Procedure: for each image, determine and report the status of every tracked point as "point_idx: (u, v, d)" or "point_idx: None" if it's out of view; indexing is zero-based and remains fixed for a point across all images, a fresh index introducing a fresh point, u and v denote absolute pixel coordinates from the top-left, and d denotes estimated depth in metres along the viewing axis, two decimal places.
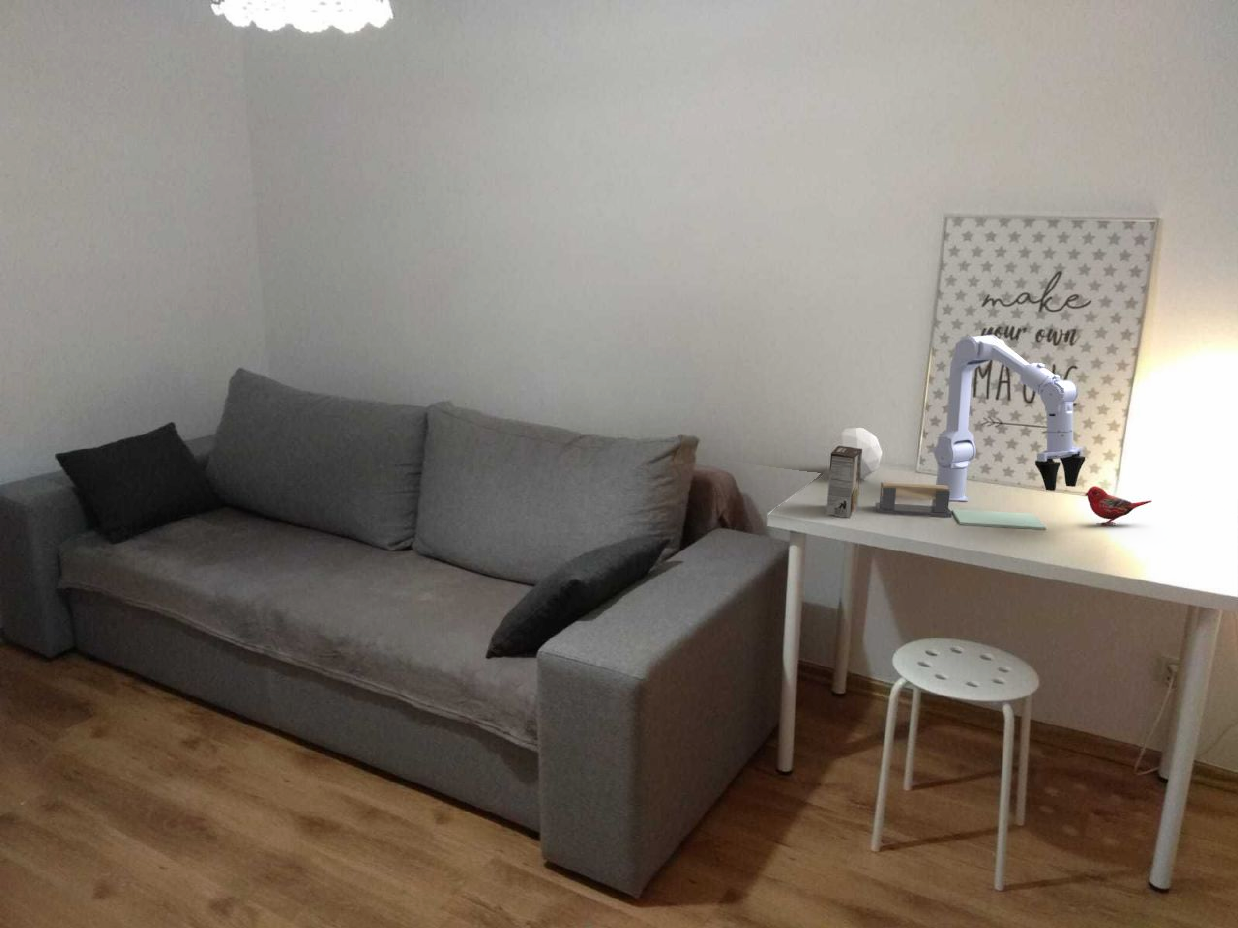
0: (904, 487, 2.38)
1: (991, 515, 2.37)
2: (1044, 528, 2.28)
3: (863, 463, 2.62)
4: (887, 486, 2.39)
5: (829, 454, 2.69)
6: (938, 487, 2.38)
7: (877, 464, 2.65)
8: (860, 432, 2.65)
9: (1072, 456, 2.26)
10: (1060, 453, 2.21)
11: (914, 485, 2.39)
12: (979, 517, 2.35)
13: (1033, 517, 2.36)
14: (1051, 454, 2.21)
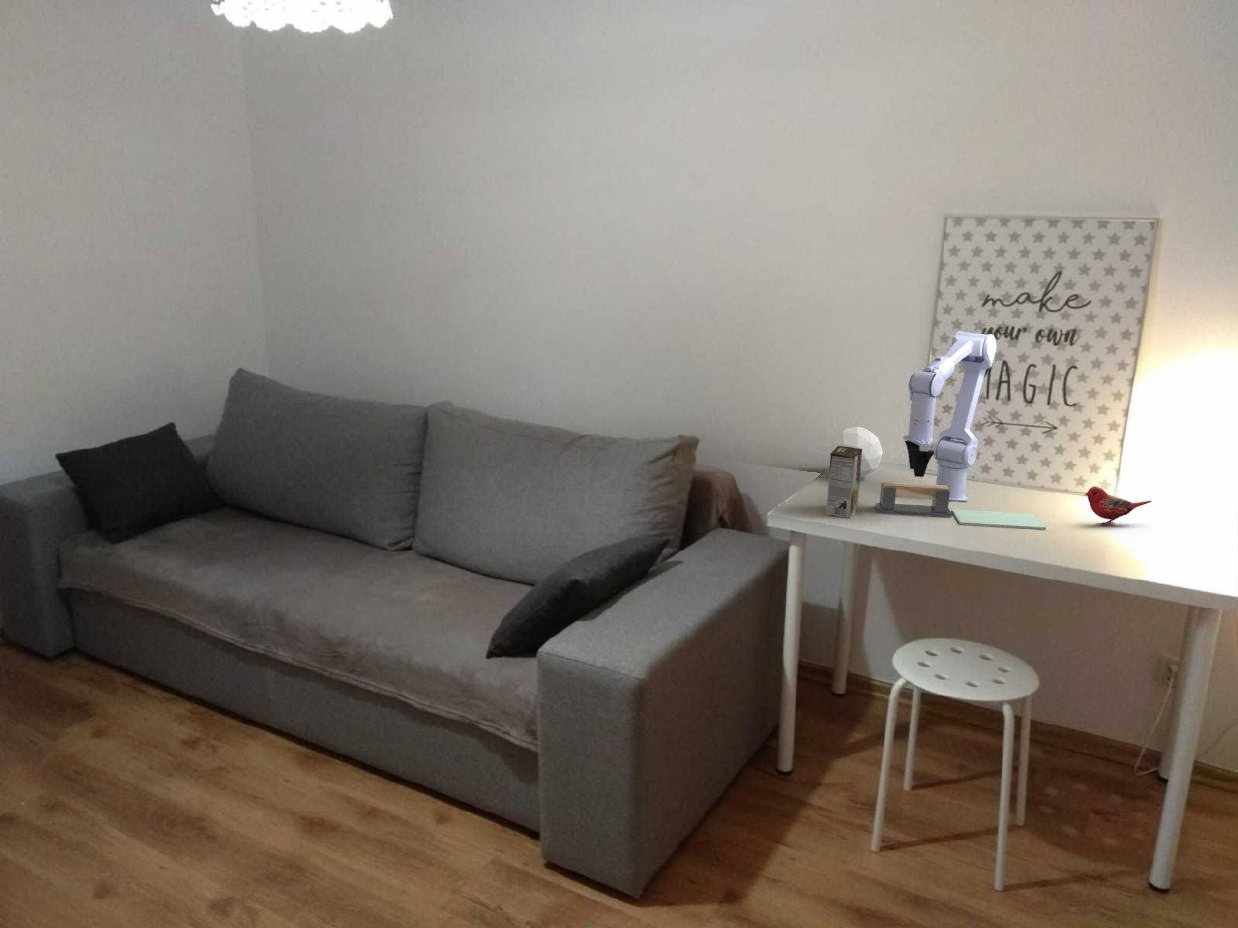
0: (904, 487, 2.38)
1: (991, 515, 2.37)
2: (1044, 528, 2.28)
3: (863, 459, 2.63)
4: (887, 486, 2.39)
5: (830, 452, 2.70)
6: (938, 487, 2.38)
7: (877, 462, 2.66)
8: (861, 430, 2.66)
9: None
10: None
11: (914, 485, 2.39)
12: (979, 517, 2.35)
13: (1033, 517, 2.36)
14: None
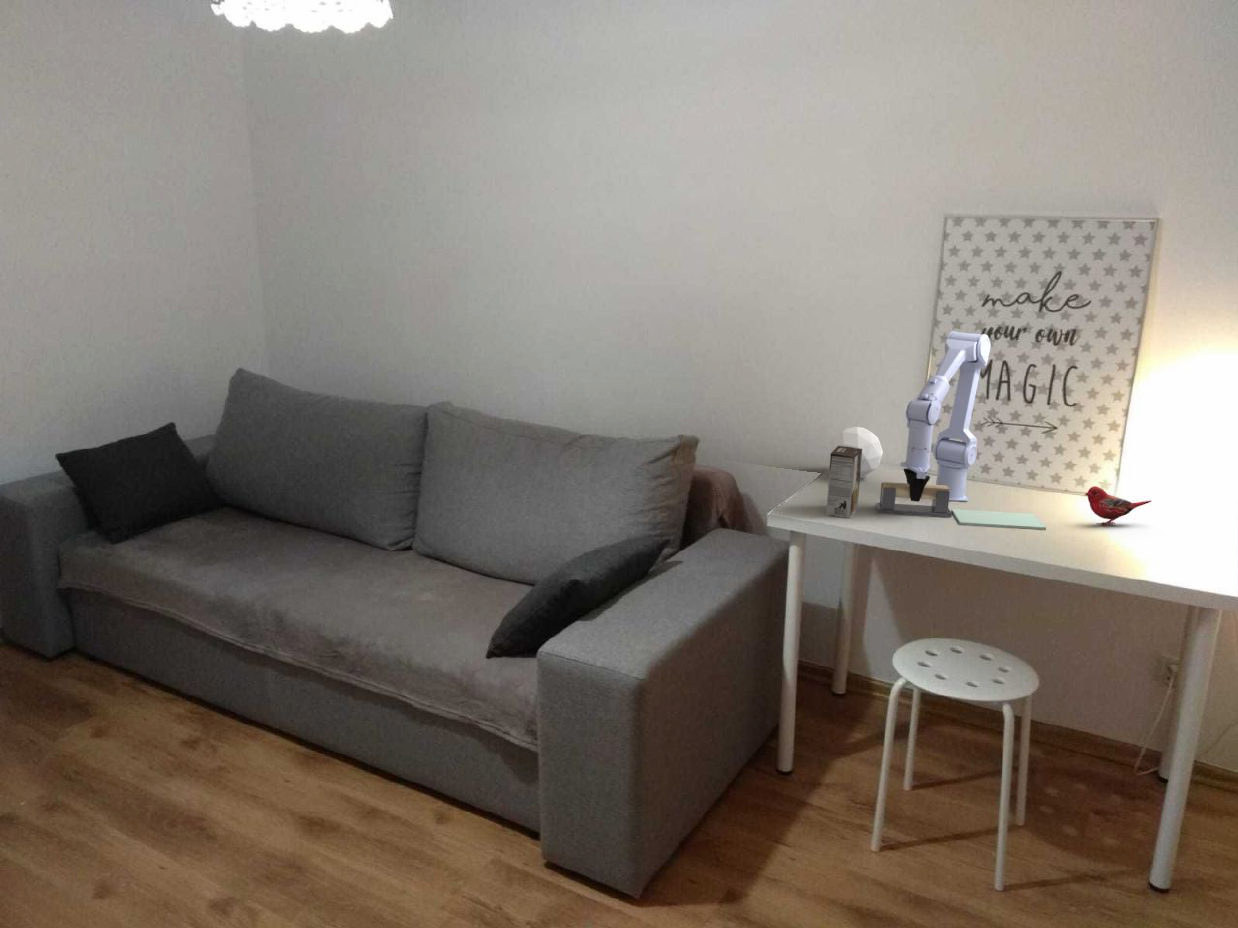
0: (904, 487, 2.38)
1: (991, 515, 2.37)
2: (1044, 528, 2.28)
3: (863, 459, 2.63)
4: (887, 486, 2.39)
5: (830, 452, 2.70)
6: (938, 487, 2.38)
7: (877, 462, 2.66)
8: (861, 430, 2.66)
9: None
10: None
11: None
12: (979, 517, 2.35)
13: (1033, 517, 2.36)
14: None
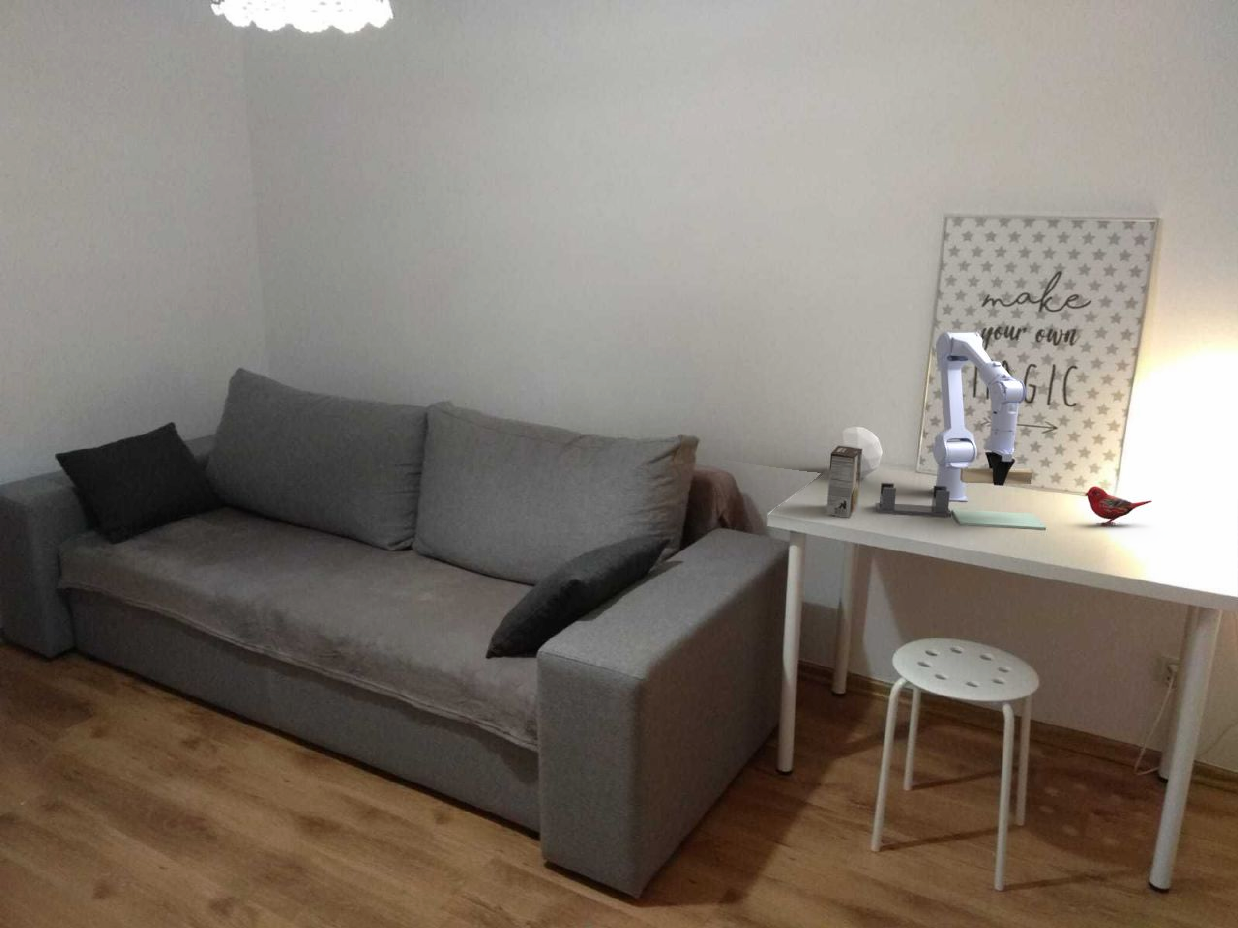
0: (985, 472, 2.31)
1: (991, 515, 2.37)
2: (1044, 528, 2.28)
3: (863, 459, 2.63)
4: (967, 472, 2.32)
5: (830, 452, 2.70)
6: (1020, 471, 2.31)
7: (877, 462, 2.66)
8: (861, 430, 2.66)
9: None
10: None
11: None
12: (979, 517, 2.35)
13: (1033, 517, 2.36)
14: None
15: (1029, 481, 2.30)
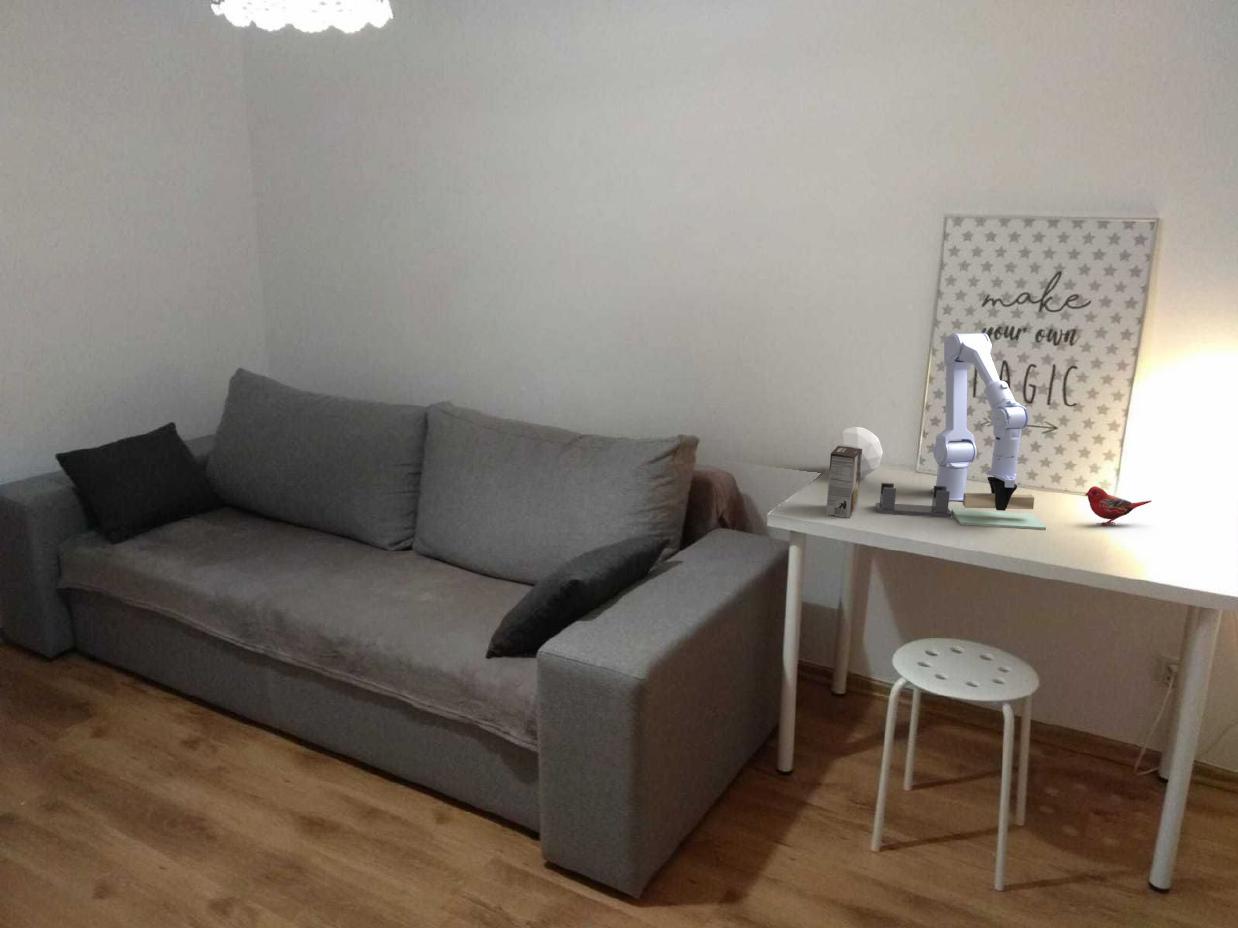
0: (987, 497, 2.33)
1: (991, 515, 2.37)
2: (1044, 528, 2.28)
3: (863, 459, 2.63)
4: (970, 497, 2.33)
5: (830, 452, 2.70)
6: (1022, 496, 2.32)
7: (877, 462, 2.66)
8: (861, 430, 2.66)
9: None
10: None
11: None
12: (979, 517, 2.35)
13: (1033, 517, 2.36)
14: None
15: (1031, 506, 2.32)
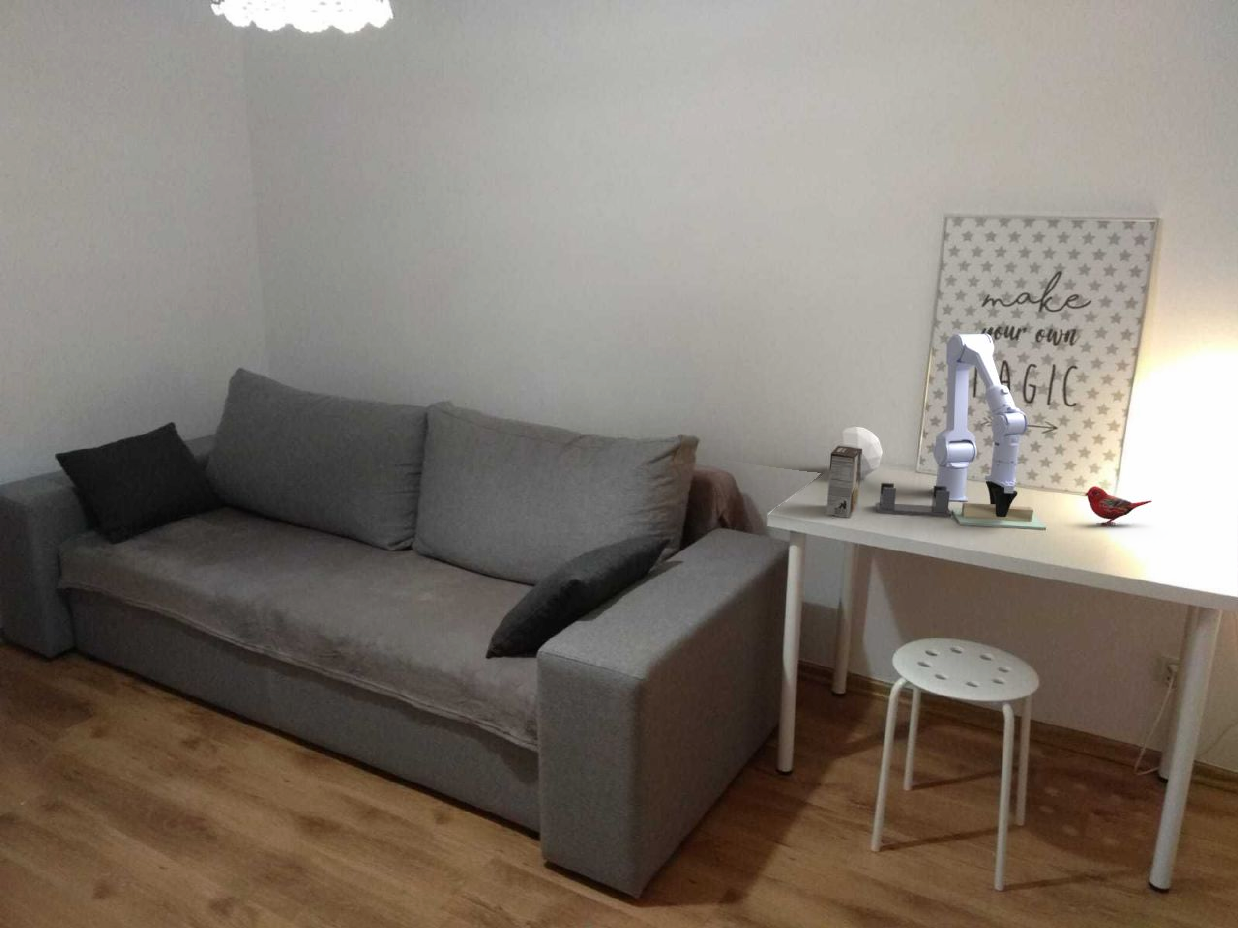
0: (986, 508, 2.33)
1: None
2: (1044, 528, 2.28)
3: (863, 459, 2.63)
4: (969, 507, 2.34)
5: (830, 452, 2.70)
6: (1021, 508, 2.33)
7: (877, 462, 2.66)
8: (861, 430, 2.66)
9: None
10: None
11: None
12: None
13: (1033, 517, 2.36)
14: None
15: (1030, 518, 2.32)
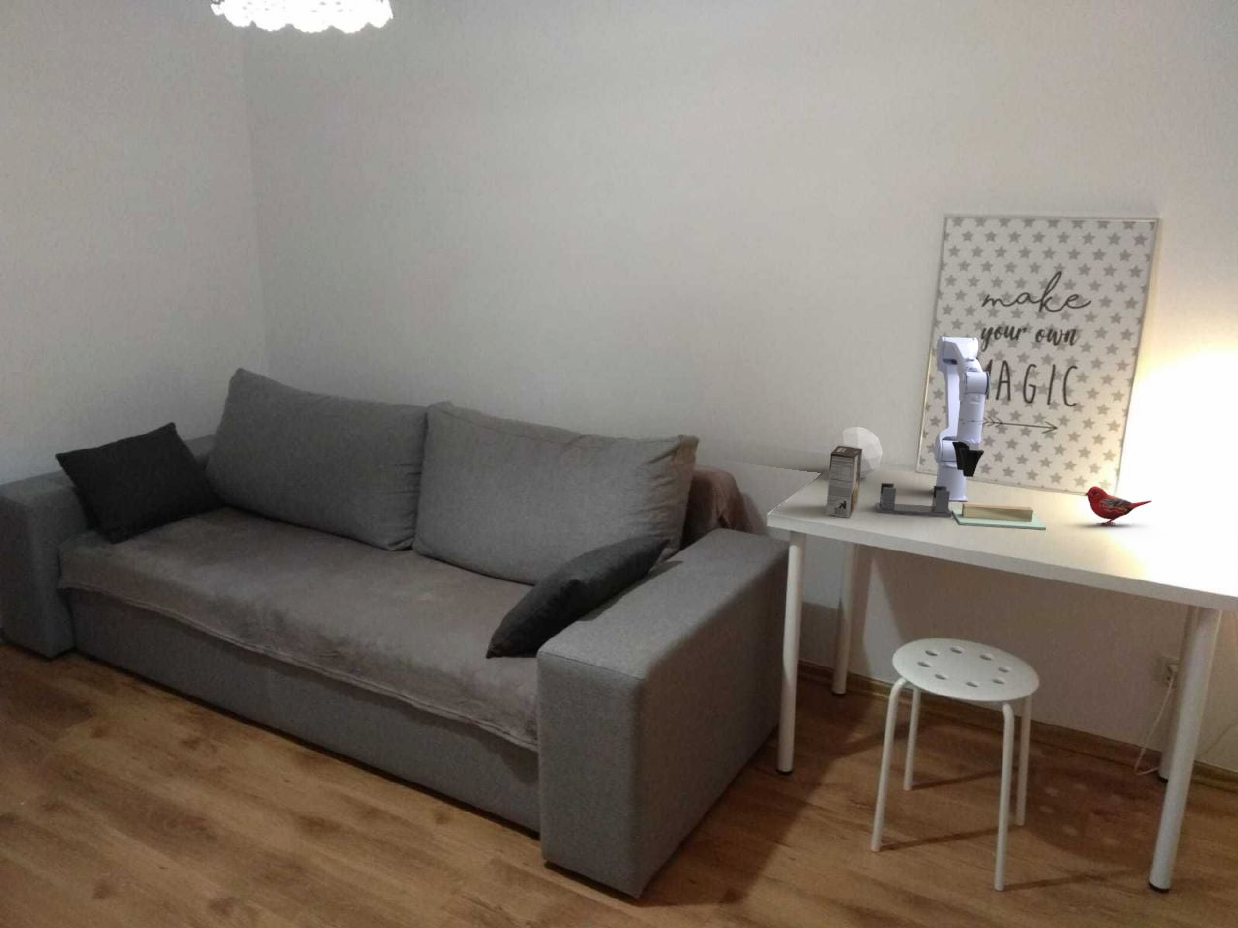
0: (986, 508, 2.33)
1: None
2: (1044, 528, 2.28)
3: (863, 459, 2.63)
4: (969, 507, 2.34)
5: (830, 452, 2.70)
6: (1021, 508, 2.33)
7: (877, 462, 2.66)
8: (861, 430, 2.66)
9: None
10: None
11: (996, 506, 2.34)
12: None
13: (1033, 517, 2.36)
14: None
15: (1030, 518, 2.32)
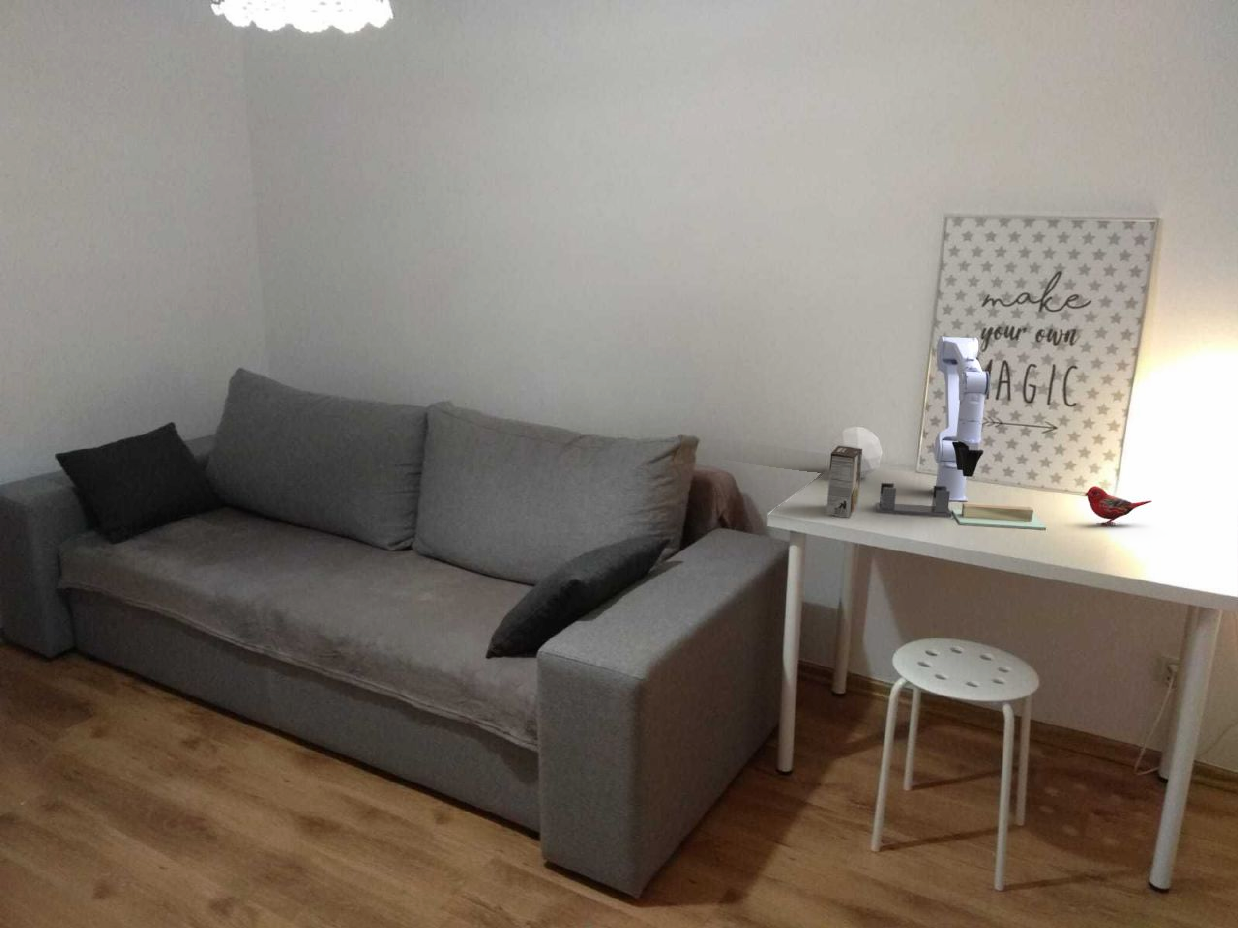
0: (986, 508, 2.33)
1: None
2: (1044, 528, 2.28)
3: (863, 459, 2.63)
4: (969, 507, 2.34)
5: (830, 452, 2.70)
6: (1021, 508, 2.33)
7: (877, 462, 2.66)
8: (861, 430, 2.66)
9: None
10: None
11: (996, 506, 2.34)
12: None
13: (1033, 517, 2.36)
14: None
15: (1030, 518, 2.32)
